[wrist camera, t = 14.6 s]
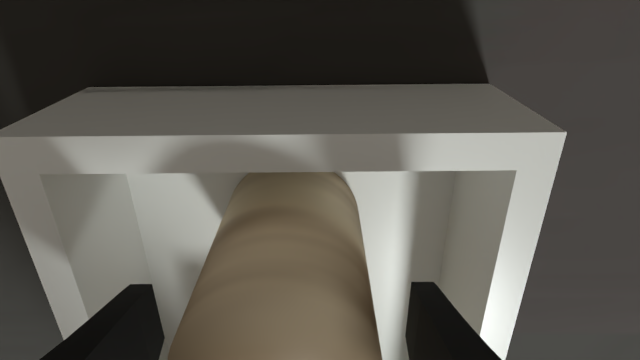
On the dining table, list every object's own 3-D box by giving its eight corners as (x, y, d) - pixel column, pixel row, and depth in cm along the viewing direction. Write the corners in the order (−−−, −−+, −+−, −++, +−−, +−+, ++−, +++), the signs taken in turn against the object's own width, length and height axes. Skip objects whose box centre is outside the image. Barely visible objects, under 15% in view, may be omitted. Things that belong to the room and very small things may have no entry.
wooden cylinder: (356, 270, 17) (377, 443, 11) (234, 270, 17) (184, 442, 11) (361, 158, 15) (392, 293, 8) (221, 158, 15) (148, 293, 8)
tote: (431, 415, 22) (459, 525, 18) (173, 417, 22) (137, 528, 18) (489, 83, 14) (566, 132, 10) (88, 86, 14) (-15, 137, 10)
